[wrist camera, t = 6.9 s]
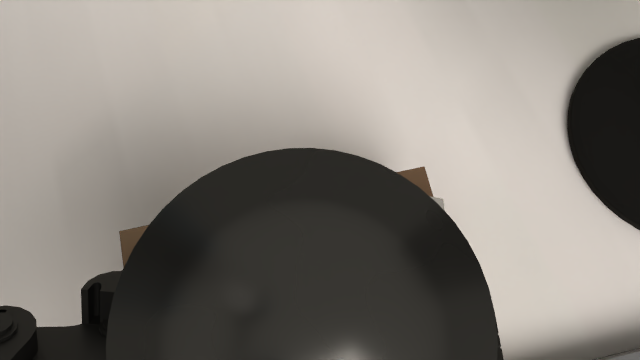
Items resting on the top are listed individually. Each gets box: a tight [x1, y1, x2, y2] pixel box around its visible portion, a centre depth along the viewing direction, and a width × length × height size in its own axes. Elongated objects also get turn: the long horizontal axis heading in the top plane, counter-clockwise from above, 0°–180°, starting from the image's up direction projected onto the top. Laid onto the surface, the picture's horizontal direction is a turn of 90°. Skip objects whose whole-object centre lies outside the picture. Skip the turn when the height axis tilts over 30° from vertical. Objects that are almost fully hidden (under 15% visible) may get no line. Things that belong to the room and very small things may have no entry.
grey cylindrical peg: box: [106, 148, 497, 360], centre depth 14 cm, size 4×4×16 cm
